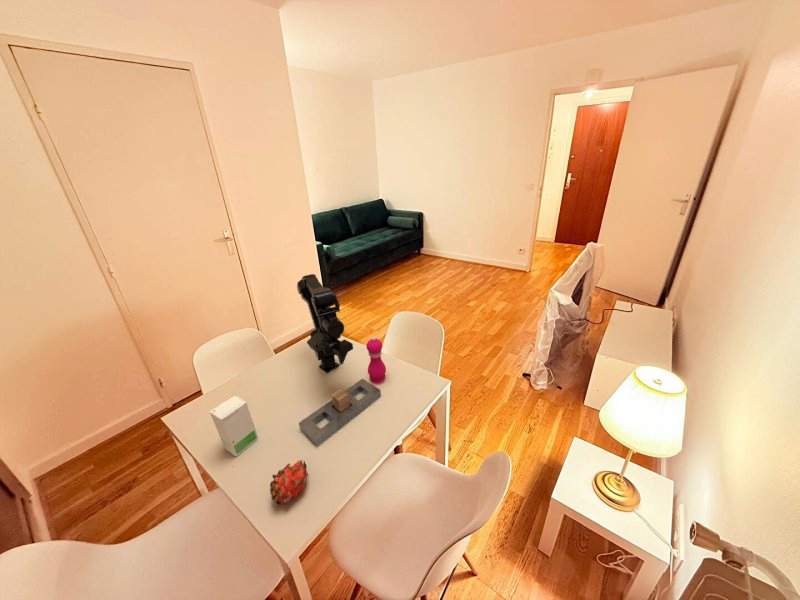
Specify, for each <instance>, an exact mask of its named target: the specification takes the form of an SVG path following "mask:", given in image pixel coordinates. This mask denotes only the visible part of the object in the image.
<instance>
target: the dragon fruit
mask: <svg viewBox="0 0 800 600" xmlns="http://www.w3.org/2000/svg"><path fill="white" fill-rule="evenodd" d="M307 469H308V468H307V463H306V462H305V460H300V459H299V460H298V461H296V462H295V463H294V464H293V465H291V463H287V464H286V465H285V466H284V468H282V469H280V470H279V471H277V473H276V474H272V478H273V480H272V481H270V484H269V487H270V488H269V493H270V496H271V501H273V502H275V503H276V504H277V506H280V505H281V504H287V503H289V502H290V500H291V499H292V498H299V497H300V493H299V492H301V491H302V490H303V489H304V487H305V485H306V480H307V477H308V476H309V474H308V473H307Z"/></svg>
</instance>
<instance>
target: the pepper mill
mask: <svg viewBox="0 0 800 600" xmlns="http://www.w3.org/2000/svg"><path fill="white" fill-rule="evenodd" d="M382 349H383V342H382V341H381V339H378V338H377V337H376V336H372V337H371V339H369V340H368V341H367V342H366V350H367V352H368V356H369V357H370V361H369V364H368V366H367V373H368V375H369V380H370V382H371V384H375V385H377V384H382V383H384V381H386V372H387V367H386V365H385V363H384V361H383V360H382V358H381V355H382V354H383V353H382Z"/></svg>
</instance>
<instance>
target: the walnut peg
mask: <svg viewBox="0 0 800 600" xmlns="http://www.w3.org/2000/svg"><path fill="white" fill-rule="evenodd" d="M344 391H345V390H343V389H341V388H340V389H339V390H336V392H334V393H333V394H331V400H332V401H333V406H334V409H335V410H336V411H338V412H339V413H340V414H341V413H342V412H343V411H345V410H346V409H347V408H349V407H350V403H349V397H348V394H347V393H346V392H344Z"/></svg>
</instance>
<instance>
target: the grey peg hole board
mask: <svg viewBox="0 0 800 600" xmlns="http://www.w3.org/2000/svg"><path fill="white" fill-rule="evenodd" d="M343 391H344V392H346V393H347V394H348V397H349V403H350V407H349V408H347V409H346V410H345V411H343V412H342V413H341V414H340V413H339V412H338V411H336V410H335V409H334V406H333V401H332V399H331V400H329V401H328V402H326V403H325V404H324V405H322V406H321V407H319V408H318V409H316V410H315V411H314V412H312V413H311V414H309V415H308V416H306V417H305V418H303V419H302V420H301V421H299V422H298V427H299V429H300V431H301V433H303V434H304V435H305V436H306V437H307V438H308V439H309V440H310V441H311V442H312V443H313V444H314V445H315V446H316V447H319V446H320V445H321V444H322V443H324V442H325V441H326V440H328V439H329V438H330V437H332V436H333V435H334V434H335V433H337V431H339V430H340V429H342V428H343V427H344V426H345V425H347V424H348V423H349V422H351V421H352V420H353V419H354V418H355V417H356V416H358V415H360V413H362V412H363V411H364V410H365V409H367V408H368V407H369V406H370V405H372V404H373V403H374V402H375V401H376V400H378V399H379V398H381V396H382V394H381V393H382V392H381V389H380V388H379V387H377V386H375V385H373V383H370V382H369V381H367V380H366V379H365V378H361V379H359V380H358V381H357V382H355V383H354V384H353V385H351V386H350V387H348V388H346V389H345V390H343ZM360 393H362V394H363V396H362V397H361V398H360V399H357V398H356V396H357V395H359V394H360ZM324 419H327V420H328V421H329V422H328V423H326V424H324V426H322V427H319V426H318V424H319V423H321V422H322V421H323V420H324Z"/></svg>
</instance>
